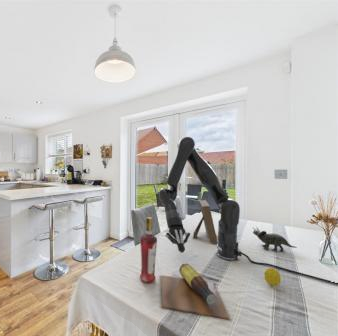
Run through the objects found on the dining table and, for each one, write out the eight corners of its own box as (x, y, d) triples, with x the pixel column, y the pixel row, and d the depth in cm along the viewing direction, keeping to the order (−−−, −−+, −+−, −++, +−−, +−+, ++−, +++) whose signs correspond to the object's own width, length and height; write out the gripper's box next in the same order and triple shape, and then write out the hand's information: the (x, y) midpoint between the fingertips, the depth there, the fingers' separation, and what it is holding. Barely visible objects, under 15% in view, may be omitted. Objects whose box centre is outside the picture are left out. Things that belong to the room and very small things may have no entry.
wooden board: (212, 284, 85) (212, 282, 85) (229, 319, 66) (229, 317, 66) (161, 276, 90) (161, 275, 90) (162, 307, 71) (162, 306, 71)
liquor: (144, 273, 93) (146, 214, 92) (158, 279, 88) (160, 217, 87) (136, 280, 87) (137, 218, 86) (150, 286, 83) (152, 221, 82)
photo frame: (212, 233, 149) (213, 200, 148) (217, 244, 128) (219, 206, 128) (191, 230, 154) (192, 199, 153) (193, 240, 133) (194, 204, 132)
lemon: (275, 291, 81) (276, 272, 81) (261, 283, 86) (261, 266, 86) (283, 288, 83) (283, 269, 83) (268, 281, 89) (269, 263, 88)
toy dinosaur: (296, 253, 118) (297, 234, 117) (296, 257, 111) (297, 238, 111) (252, 242, 133) (253, 226, 132) (250, 246, 126) (251, 228, 126)
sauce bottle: (176, 273, 90) (199, 304, 70) (181, 260, 90) (206, 288, 70) (189, 278, 90) (215, 310, 70) (194, 265, 90) (221, 294, 71)
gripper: (163, 216, 103) (170, 249, 91) (188, 216, 104) (198, 249, 92) (160, 222, 109) (166, 254, 97) (183, 223, 109) (193, 254, 98)
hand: (182, 252), depth 95 cm, fingers closed
